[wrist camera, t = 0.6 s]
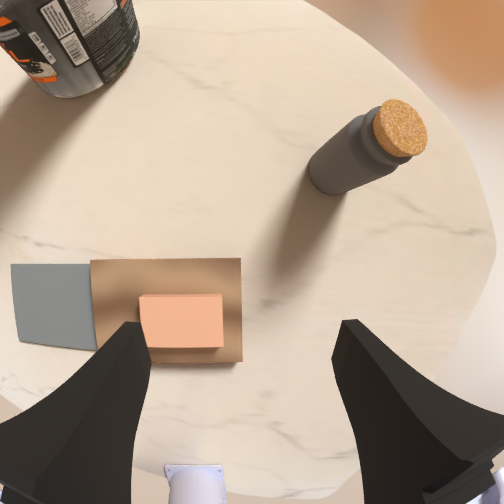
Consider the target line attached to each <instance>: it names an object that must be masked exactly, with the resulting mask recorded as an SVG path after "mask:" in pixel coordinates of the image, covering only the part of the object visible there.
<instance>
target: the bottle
mask: <svg viewBox="0 0 504 504" xmlns="http://www.w3.org/2000/svg"><path fill="white" fill-rule="evenodd" d="M426 144H427V132H426V128H425V125H424V123H423V121H422V119H421V117H420V116H419V114H418V113H417V112H416V111H415V110H414V109H413V108H412V107H411V106H410V105H408V104H407V103H405V102H403V101H401V100H397V99H391V100H387V101H386V102H384V103H383V105H382V106H378V107H375V108H373V109H371V110H370V111H369V112H368V113H367V114H365V115H360V116H358V117H356V118H354V119H353V120H352V121H351V122H349V123H348V124H347V125H346V126H345V127H344V128H342V129H341V130H340V131H339V132H338V133H337V134H336V135H334V136H333V137H332V138H331V139H330V140H329V141H328V142H326V143H325V144H324V145H323V146H322V147H321V148H320V149H319V150H318V151H317V152H316V153H315V154H314V155H313V156H312V158H311V160H310V162H309V175H310V178H311V180H312V182H313V184H314V185H315V186H316V187H317V188H318V189H319V190H320V191H322V192H324V193H326V194H329V195H338V194H342V193H344V192H347V191H349V190H352V189H354V188H357V187H359V186H362V185H364V184H367V183H369V182H372V181H374V180H376V179H379V178H381V177H384V176H386V175H388V174H390V173H392V172H393V171H394V170H396V168H397V167H398V166H399V165H401V164H404V163H406V162H408V161H409V160H410V159H411V158H412V157H413V156H415V155H419V154H420V153H422V152H423V151H424V149H425V147H426Z"/></svg>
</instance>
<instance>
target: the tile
mask: <svg viewBox="0 0 504 504" xmlns="http://www.w3.org/2000/svg"><path fill="white" fill-rule="evenodd" d="M139 304H140V318H141V325H142V329H143V332H144V336H145V340H146V343H147V347H168V348H199V347H224V338H223V308H222V294H143V295H142V296H140V297H139Z"/></svg>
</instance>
